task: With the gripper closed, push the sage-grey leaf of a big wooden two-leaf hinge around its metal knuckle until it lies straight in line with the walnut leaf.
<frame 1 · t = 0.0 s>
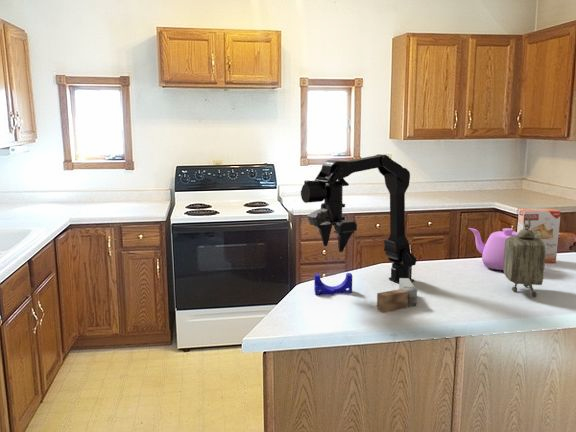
hand: (332, 248, 165), 15 cm above the counter, tool pointing down, fingers open, 9 cm apart
cable clip: (333, 293, 168), on the counter
cracker box: (535, 262, 205), on the counter
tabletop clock: (520, 292, 168), on the counter
hinge leaf: (407, 291, 160), point 3 cm above the counter, hinge at 60.0°
hinge base: (410, 304, 156), on the counter
teapot: (503, 268, 196), on the counter
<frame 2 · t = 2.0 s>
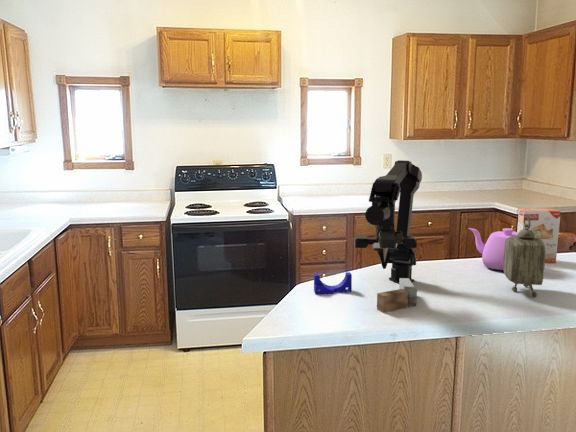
hand: (384, 268, 162), 9 cm above the counter, tool pointing down, fingers closed
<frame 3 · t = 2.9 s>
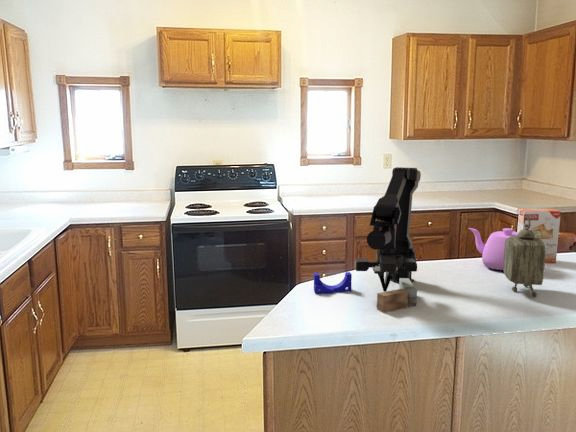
hand: (384, 291, 163), 2 cm above the counter, tool pointing down, fingers closed
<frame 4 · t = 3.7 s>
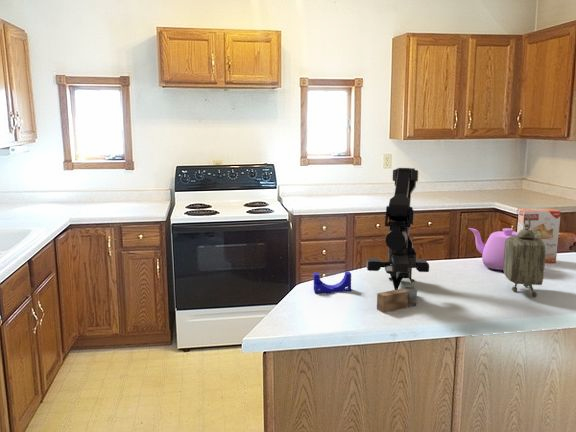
hand: (395, 291, 163), 2 cm above the counter, tool pointing down, fingers closed
hinge leaf: (407, 291, 160), point 3 cm above the counter, hinge at 59.8°, touching gripper
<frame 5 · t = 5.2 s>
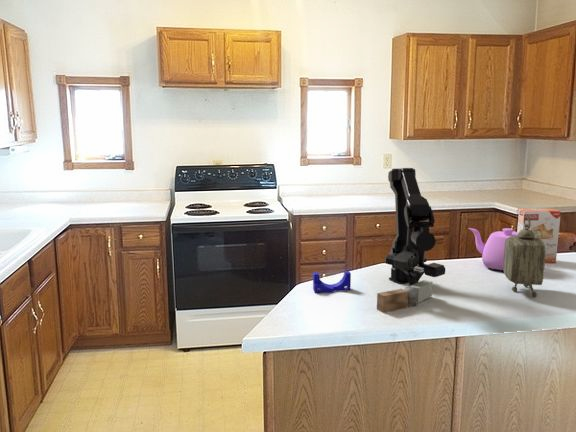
hand: (412, 290, 163), 2 cm above the counter, tool pointing down, fingers closed
hinge leaf: (417, 292, 159), point 3 cm above the counter, hinge at 20.8°, touching gripper
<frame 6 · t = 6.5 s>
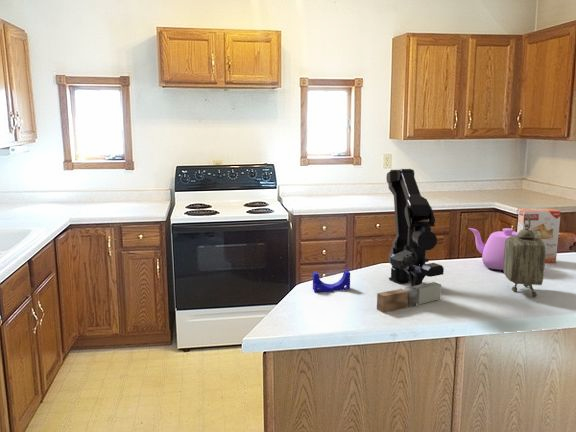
hand: (415, 290, 164), 2 cm above the counter, tool pointing down, fingers closed
hinge leaf: (421, 293, 158), point 3 cm above the counter, hinge at 2.9°
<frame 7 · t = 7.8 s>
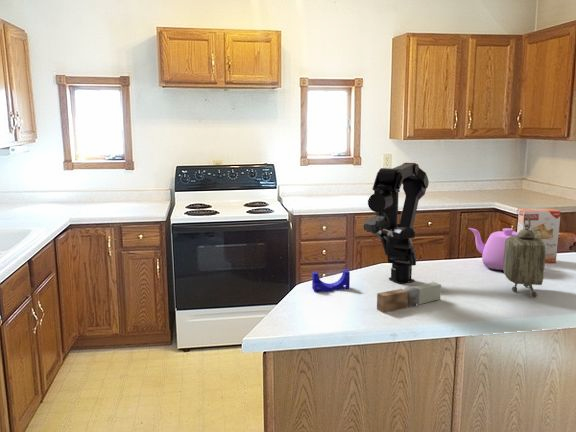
hand: (387, 255, 167), 12 cm above the counter, tool pointing down, fingers closed
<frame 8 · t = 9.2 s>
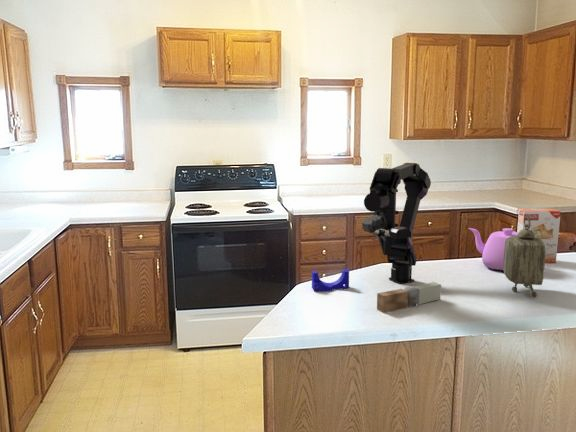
hand: (385, 254, 168), 12 cm above the counter, tool pointing down, fingers closed
at the end: hinge leaf at +3° (first picture: +60°) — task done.
